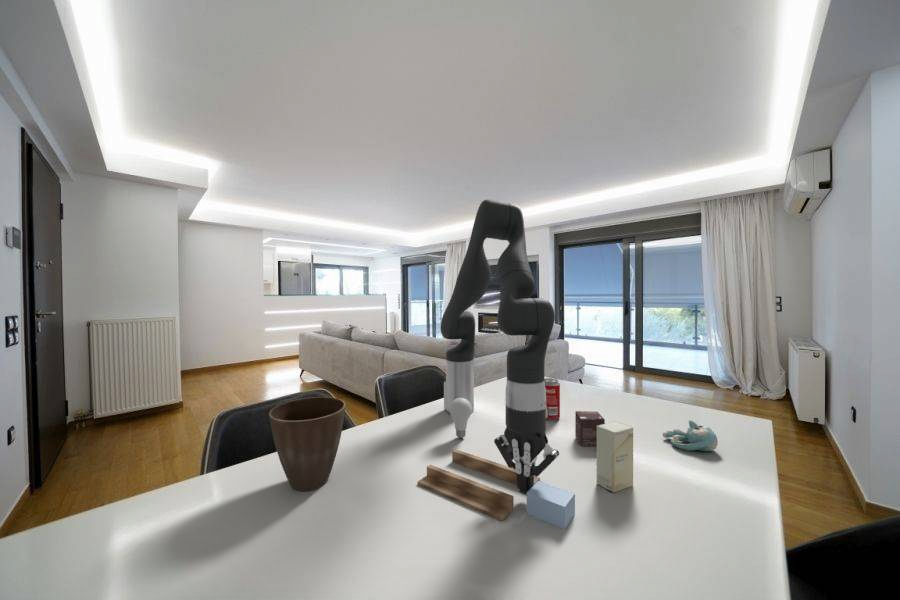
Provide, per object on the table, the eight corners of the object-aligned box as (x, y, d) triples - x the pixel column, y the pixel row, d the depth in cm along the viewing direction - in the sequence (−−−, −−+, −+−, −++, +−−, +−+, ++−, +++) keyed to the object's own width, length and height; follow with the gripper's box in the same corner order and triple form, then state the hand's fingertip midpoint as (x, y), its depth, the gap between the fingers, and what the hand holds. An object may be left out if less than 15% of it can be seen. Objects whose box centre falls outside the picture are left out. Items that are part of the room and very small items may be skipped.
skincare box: (613, 493, 70) (614, 433, 70) (595, 483, 74) (595, 425, 74) (634, 485, 73) (634, 427, 73) (615, 475, 77) (615, 420, 77)
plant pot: (360, 480, 76) (359, 406, 75) (289, 513, 65) (287, 426, 64) (325, 458, 86) (324, 392, 85) (259, 483, 75) (257, 408, 74)
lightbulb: (446, 440, 95) (445, 400, 95) (454, 432, 101) (454, 394, 101) (467, 444, 93) (467, 402, 93) (474, 435, 99) (474, 396, 98)
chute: (417, 484, 74) (417, 472, 74) (462, 454, 87) (462, 444, 87) (502, 521, 62) (502, 507, 62) (539, 480, 75) (539, 469, 75)
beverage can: (539, 414, 115) (539, 377, 115) (558, 415, 114) (558, 378, 114) (541, 420, 109) (541, 382, 109) (561, 421, 108) (561, 382, 108)
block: (526, 514, 64) (526, 492, 64) (538, 501, 68) (538, 480, 68) (564, 530, 60) (564, 506, 60) (574, 515, 64) (574, 493, 64)
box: (597, 437, 97) (598, 411, 96) (605, 447, 91) (605, 419, 90) (574, 437, 97) (574, 410, 97) (580, 446, 91) (580, 418, 91)
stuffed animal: (668, 413, 100) (720, 417, 91) (674, 439, 99) (726, 446, 90) (652, 422, 93) (706, 427, 84) (658, 451, 92) (712, 459, 83)
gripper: (485, 401, 69) (485, 489, 69) (551, 415, 61) (551, 515, 61) (503, 392, 75) (504, 473, 75) (566, 404, 67) (566, 495, 67)
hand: (525, 492), depth 68 cm, fingers closed
